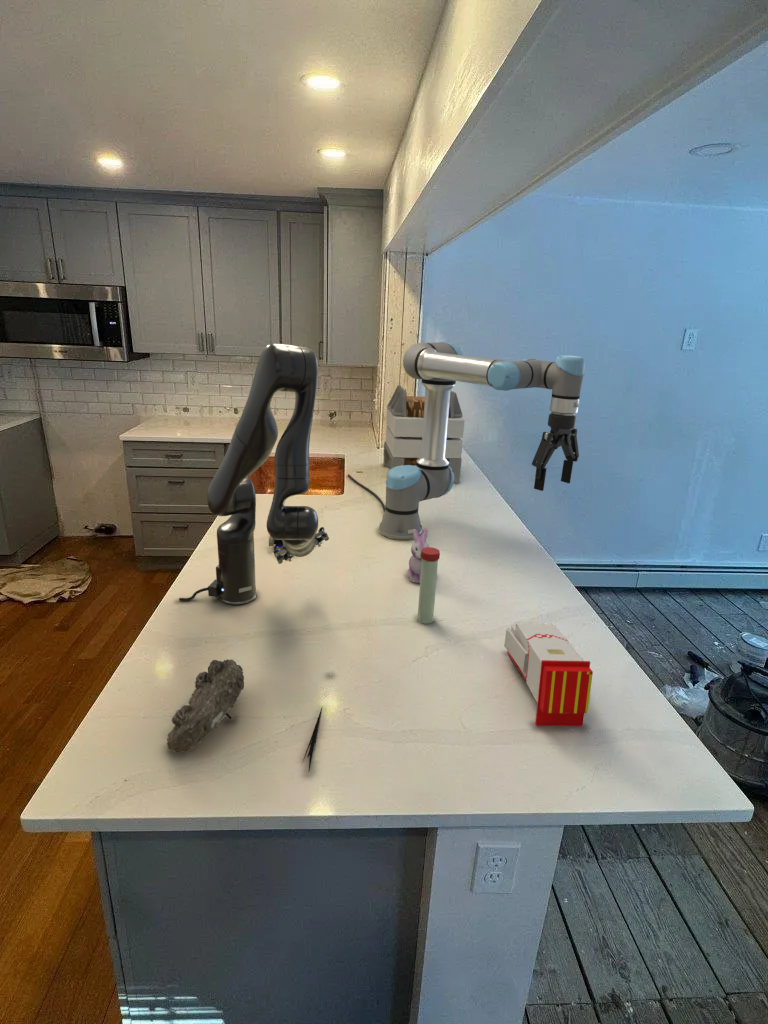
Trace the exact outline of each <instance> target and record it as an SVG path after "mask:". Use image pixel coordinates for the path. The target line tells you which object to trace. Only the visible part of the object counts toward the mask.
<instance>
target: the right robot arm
mask: <svg viewBox="0 0 768 1024" xmlns="http://www.w3.org/2000/svg"><path fill="white" fill-rule="evenodd" d="M585 365H586V360H585V358H584V357H582V356H578V355H566V354H565V355H564V354H563V355H558V356H557V357H556V360H555V361H549V360H541V359H536V358H524V359H521V360H506V359H505V360H504V359H503V360H502V359H496V358H487V357H479V356H471V355H464V354H463V352H462V350H461V349H460V347H459V346H457V345H456V344H455V343H451V342H445V341H443V342H442V341H441V342H440V341H439V342H438V341H437V342H417V343H414V344H412V345H411V346H409V347H408V348H407V350H406V351H405V353H404V355H403V358H402V366H403V369H404V372H405V373H406V374H407V375H408V376H409V377H411V378H412V379H415V380H421V385H422V386H423V387H424V389H425V392H424V397H425V404H424V419H423V434H422V449H421V457H420V458H418V459H417V461H416V466H413V465H401V466H396V467H394V468H392V469H390V468H389V470H388V472H387V474H386V479H385V504H384V502H383V500H382V499H381V498H380V497H379V495H377V494H376V493H375V492H374V491H373V490H371V489H370V488H368V487H367V486H365V485H364V484H362V483H360V482H359V481H357V480H356V479H354V478H353V477H352V475H350V474H347V477H348V478H349V479H350V480H351V481H353V483H355V484H357V485H358V486H360V487H361V488H363V489H364V490H365V491H367V492H368V493H370V494H372V496H374V497H375V498H376V499H377V500H378V502H379V503H380V505H381V507H382V510H383V512H384V513H383V515H382V519H381V522H379V526H378V533H379V534H380V535H381V536H382V537H385V538H387V539H389V540H395V541H410V540H414V537H413V530H414V529H416V530H417V531H418V533H419V535H421V534H422V532H423V525H422V524H421V518H420V515H419V507H420V506H419V505H420V502H423V501H427V500H431V499H437V498H440V497H443V496H446V495H448V493H450V492H451V490H452V489H453V488H454V487H453V486H454V484H455V483H454V473H452V469H451V467H450V466H449V462H448V461H447V459H446V458H445V453H446V441H447V428H448V416H449V404H450V392H451V391H452V389H453V388H454V387H455V386H456V384H457V382H461V383H465V384H473V385H479V386H487V387H491V388H492V389H494V390H496V391H503V392H504V391H511V390H520V389H532V388H533V389H534V388H539V389H546V390H551V398H550V404H549V413H548V418H547V419H548V420H547V426H548V427H549V428H550V431H549V432H548V431H543V432H542V435H541V440H540V442H539V445H538V447H537V449H536V452H535V454H534V457H533V460H532V461H531V466H533V467H535V475H534V477H535V478H534V485H533V489H534V490H537V491H539V492H543V491H544V489H545V484H546V483H545V482H546V476H547V468H546V466H547V465H548V463H549V461H550V459H551V457H552V456H553V454H554V453H555V451H556V450H557V449H558V448H560V447H561V449H562V452H563V455H564V458H565V459H563V463H562V468H561V469H562V470H561V475H560V482H562V483H566V484H571V478H572V472H573V466H574V463H576V462H578V461H579V457H580V453H579V444H578V428H576V423H577V419H578V416H577V414H578V412H579V411H578V410H579V406H580V397H581V391H582V385H583V380H584V376H585Z"/></svg>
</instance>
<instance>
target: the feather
mask: <svg viewBox="0 0 768 1024" xmlns="http://www.w3.org/2000/svg"><path fill="white" fill-rule="evenodd" d="M329 675H330V676H331V675H332V674H331V673H330V674H329ZM322 710H323V707H321V708H320V710H319V713H318V716H317V719H316V723H315V725H314V728H313V731H312V733H311V737H310V739H309V742H308V745H307V748H306V751H305V754H304V757H303V760H302V763H301V767H302V765H303V763H304V761H305V758H308V759H309V760H308V762H307V763H308V764H307V766H308V771H310V770H311V766H312V765H311V764H312V760H313V757H315V756H314V755H315V751H316V749H315V746H317V739H318V733H319V729H320V722H321V717H322V712H323V711H322ZM313 754H314V755H313ZM306 755H307V757H306Z"/></svg>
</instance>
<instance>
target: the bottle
mask: <svg viewBox="0 0 768 1024" xmlns="http://www.w3.org/2000/svg"><path fill="white" fill-rule="evenodd" d="M438 564H439V559H438V560H437V561H425V560H423V559H422V562H421V576H420V583H419V592H418V606H417V618H416V619H417V621H418V622H419V623H421V624H431V623H432V622H434V613H435V602H436V590H437V589H436V588H437V577H438V568H439V567H438V566H439V565H438Z"/></svg>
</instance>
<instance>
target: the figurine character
mask: <svg viewBox="0 0 768 1024" xmlns="http://www.w3.org/2000/svg"><path fill="white" fill-rule="evenodd" d="M268 546H269V547H272V548H273V551H274V550H277V549H278V548H282V550H284V547H285V546H284V544H283V541H282V540H276V539H273V538H272V537H271V536H270V535H269V537H268Z"/></svg>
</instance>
